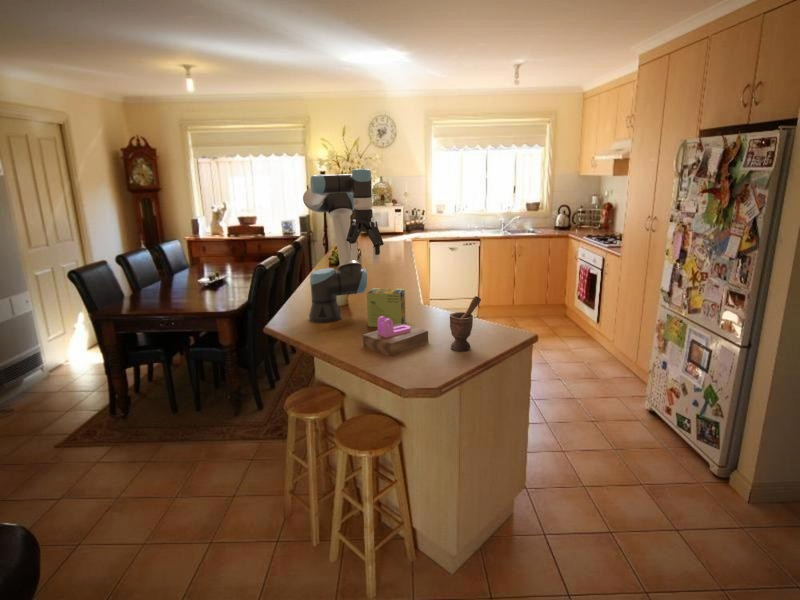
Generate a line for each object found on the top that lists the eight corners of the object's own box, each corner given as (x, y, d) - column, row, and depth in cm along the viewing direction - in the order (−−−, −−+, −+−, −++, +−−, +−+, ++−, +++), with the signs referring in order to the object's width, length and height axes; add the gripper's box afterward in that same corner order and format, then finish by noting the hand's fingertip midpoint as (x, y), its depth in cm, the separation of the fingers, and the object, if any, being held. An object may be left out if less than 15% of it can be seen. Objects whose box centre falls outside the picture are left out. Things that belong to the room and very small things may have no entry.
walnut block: (363, 346, 185) (362, 334, 184) (399, 334, 199) (399, 322, 198) (391, 356, 174) (391, 343, 173) (428, 342, 188) (428, 330, 187)
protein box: (401, 328, 207) (400, 293, 204) (367, 326, 211) (366, 292, 207) (406, 321, 217) (405, 288, 214) (373, 320, 220) (372, 287, 217)
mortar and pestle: (468, 341, 188) (468, 292, 183) (483, 347, 181) (484, 296, 176) (445, 347, 182) (445, 297, 177) (460, 353, 175) (460, 301, 170)
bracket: (385, 337, 180) (384, 320, 178) (377, 334, 184) (377, 317, 182) (413, 331, 187) (412, 314, 185) (405, 327, 191) (404, 311, 189)
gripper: (336, 207, 196) (339, 258, 202) (377, 210, 179) (379, 265, 185) (350, 206, 201) (352, 255, 207) (391, 209, 184) (392, 262, 190)
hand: (365, 260), depth 196 cm, fingers open, 13 cm apart
